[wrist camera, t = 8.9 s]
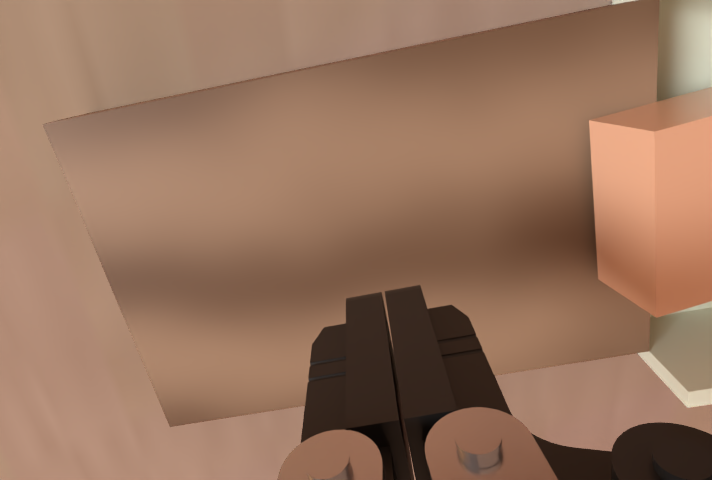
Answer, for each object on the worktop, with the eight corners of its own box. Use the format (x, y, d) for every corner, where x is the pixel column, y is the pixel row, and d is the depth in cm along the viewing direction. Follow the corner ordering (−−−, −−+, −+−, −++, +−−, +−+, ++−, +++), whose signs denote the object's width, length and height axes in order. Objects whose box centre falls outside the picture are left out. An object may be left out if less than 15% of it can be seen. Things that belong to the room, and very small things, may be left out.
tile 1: (588, 120, 13) (654, 131, 11) (754, 75, 14) (852, 76, 11) (598, 279, 15) (656, 317, 13) (744, 236, 16) (827, 266, 13)
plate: (87, 113, 16) (42, 124, 14) (612, 4, 15) (659, -4, 13) (191, 382, 20) (169, 426, 18) (612, 314, 19) (649, 351, 17)
